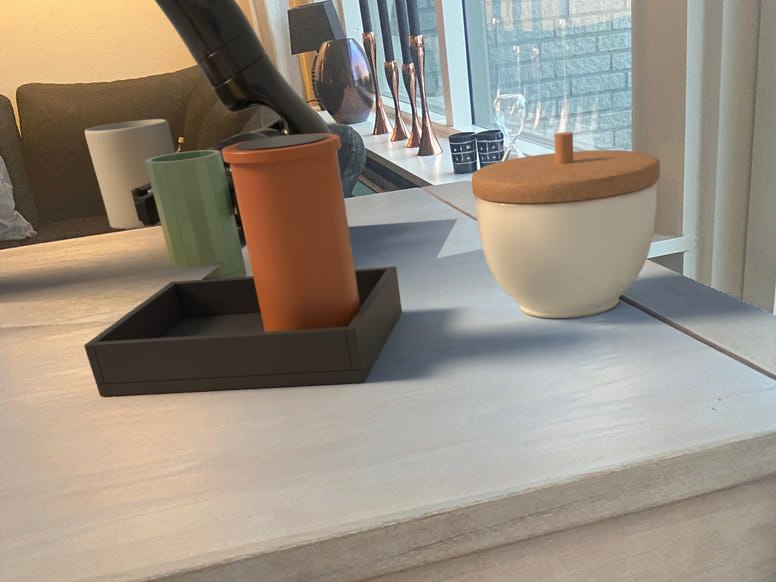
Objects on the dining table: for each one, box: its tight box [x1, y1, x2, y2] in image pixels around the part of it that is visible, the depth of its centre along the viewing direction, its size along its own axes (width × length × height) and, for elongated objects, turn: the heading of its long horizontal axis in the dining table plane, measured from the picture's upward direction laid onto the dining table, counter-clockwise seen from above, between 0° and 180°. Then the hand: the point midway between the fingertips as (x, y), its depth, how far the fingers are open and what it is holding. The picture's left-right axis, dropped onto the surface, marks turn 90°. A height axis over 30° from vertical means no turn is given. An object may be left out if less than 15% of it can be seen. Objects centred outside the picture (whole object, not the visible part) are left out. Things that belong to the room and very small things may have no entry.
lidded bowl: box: [471, 131, 661, 319], centre depth 66 cm, size 13×13×11 cm
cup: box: [145, 149, 248, 280], centre depth 83 cm, size 6×6×10 cm
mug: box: [84, 118, 176, 229], centre depth 103 cm, size 12×8×11 cm
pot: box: [222, 133, 361, 332], centre depth 60 cm, size 7×7×12 cm
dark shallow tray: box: [83, 266, 403, 397], centre depth 65 cm, size 17×15×3 cm
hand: (191, 209), depth 81 cm, fingers open, 8 cm apart
